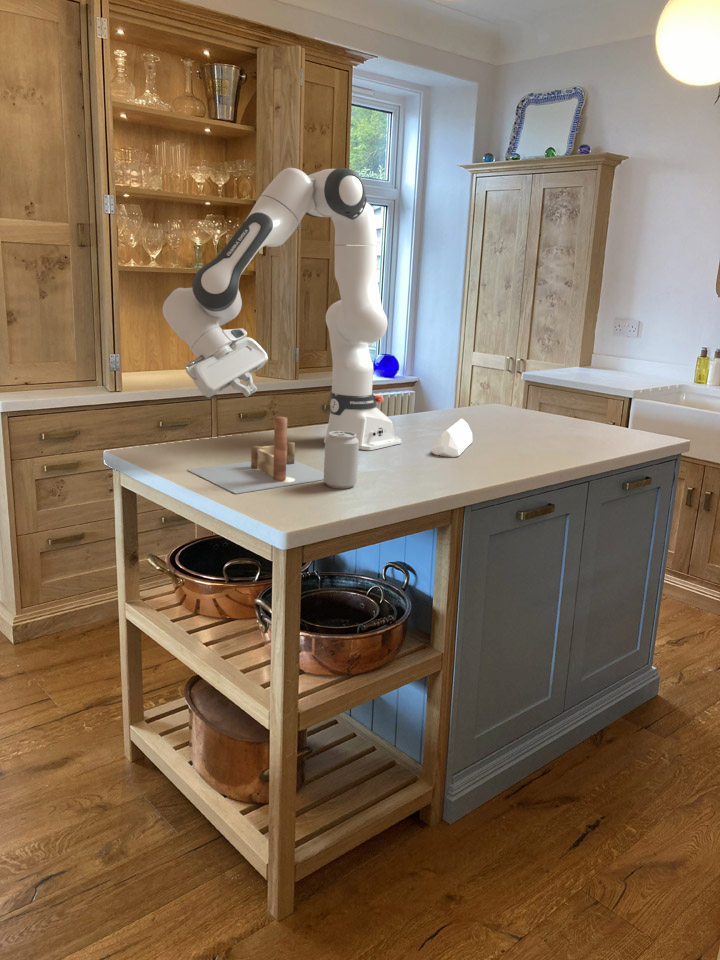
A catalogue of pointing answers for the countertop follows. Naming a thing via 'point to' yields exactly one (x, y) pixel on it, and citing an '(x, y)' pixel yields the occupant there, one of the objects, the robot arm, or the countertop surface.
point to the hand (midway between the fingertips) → (252, 393)
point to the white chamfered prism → (453, 440)
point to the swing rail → (275, 452)
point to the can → (341, 459)
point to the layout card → (255, 476)
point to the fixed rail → (270, 449)
